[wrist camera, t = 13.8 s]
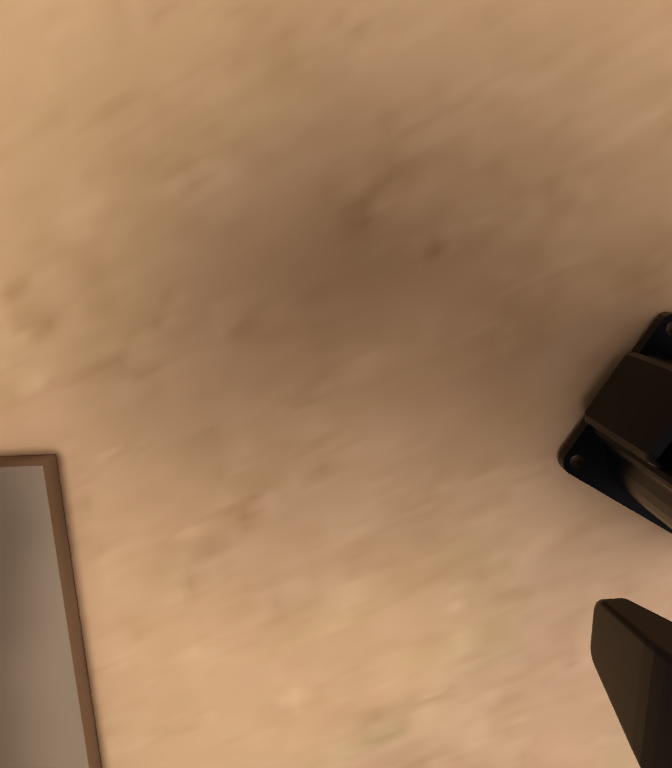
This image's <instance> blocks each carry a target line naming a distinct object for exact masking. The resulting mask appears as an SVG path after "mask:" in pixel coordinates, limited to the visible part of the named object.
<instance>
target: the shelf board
mask: <svg viewBox="0 0 672 768" xmlns="http://www.w3.org/2000/svg"><path fill="white" fill-rule="evenodd" d="M0 768H101V762H100V756H99V749H98V742H97V735H96V728H95V722H94V715H93V708H92V701H91V694H90V688H89V681H88V674H87V667H86V660H85V653H84V647H83V640H82V633H81V626H80V619H79V613H78V606H77V599H76V592H75V585H74V579H73V572H72V565H71V558H70V551H69V544H68V538H67V531H66V524H65V517H64V510H63V504H62V497H61V490H60V483H59V476H58V470H57V463H56V456H55V455H30V456H3V457H0Z"/></svg>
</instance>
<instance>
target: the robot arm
mask: <svg viewBox="0 0 672 768" xmlns="http://www.w3.org/2000/svg"><path fill="white" fill-rule="evenodd" d="M671 321H672V312H664V313H662V314H660V315H659V316H658V317H657V318H656V319H655V320H654V321H653V323H652V324H651V326H650V327H649V328H648V330H647V331H646V333H645V334H644V335H643V337H642V338H641V340H640V341H639V342H638V344H637V345H636V347H635V348H634V349H633V351H632V352H631V354H628V355H626V356H625V357H624V358H623V360H622V361H621V362H620V364H619V365H618V367H617V368H616V369H615V371H614V372H613V374H612V375H611V376H610V378H609V379H608V381H607V382H606V383H605V385H604V386H603V388H602V389H601V390H600V392H599V393H598V395H597V396H596V397H595V399H594V400H593V402H592V403H591V404H590V406H589V407H588V409H587V410H586V412H585V418H584V419H583V421H582V422H581V424H580V425H579V426H578V428H577V429H576V431H575V432H574V433H573V435H572V436H571V438H570V439H569V440H568V442H567V443H566V445H565V446H564V447H563V449H562V450H561V452H560V454H559V458H558V461H559V464H560V466H561V467H562V468H563V469H564V470H566V471H567V472H568V473H569V474H571V475H573V476H574V477H576V478H578V479H579V480H581V481H583V482H585V483H586V484H588V485H590V486H591V487H593V488H595V489H597V490H598V491H600V492H602V493H603V494H605V495H607V496H609V497H610V498H612V499H614V500H615V501H617V502H619V503H621V504H622V505H624V506H626V507H627V508H629V509H631V510H633V511H634V512H636V513H638V514H639V515H641V516H643V517H645V518H646V519H648V520H650V521H651V522H653V523H655V524H657V525H658V526H660V527H662V528H663V529H665V530H667V531H669V532H670V533H672V331H671V332H670V333H667V331H666V327H667V325H668V323H670V322H671ZM575 455H579V459H578V461H577V462H576V463H574V464H570V460H571V458H572V457H573V456H575ZM591 655H592V660H593V663H594V665H595V668H596V670H597V672H598V674H599V677H600V679H601V681H602V683H603V686H604V688H605V690H606V692H607V695H608V697H609V699H610V701H611V704H612V706H613V708H614V710H615V713H616V715H617V717H618V719H619V722H620V724H621V726H622V728H623V731H624V733H625V735H626V737H627V740H628V742H629V744H630V746H631V749H632V751H633V753H634V755H635V757H636V759H637V761H638V763H639V765H640V767H641V768H672V622H671V621H669V620H667V619H665V618H663V617H661V616H659V615H657V614H655V613H653V612H651V611H649V610H647V609H645V608H643V607H641V606H639V605H637V604H635V603H633V602H631V601H629V600H627V599H624V598H616V599H601V600H599V601H598V602H597V603H596V604H595V607H594V614H593V624H592V635H591Z"/></svg>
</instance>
